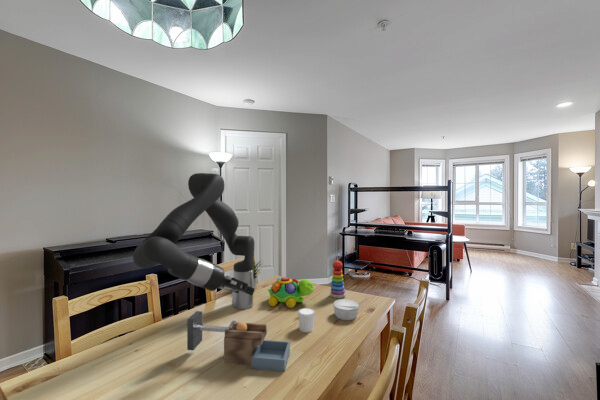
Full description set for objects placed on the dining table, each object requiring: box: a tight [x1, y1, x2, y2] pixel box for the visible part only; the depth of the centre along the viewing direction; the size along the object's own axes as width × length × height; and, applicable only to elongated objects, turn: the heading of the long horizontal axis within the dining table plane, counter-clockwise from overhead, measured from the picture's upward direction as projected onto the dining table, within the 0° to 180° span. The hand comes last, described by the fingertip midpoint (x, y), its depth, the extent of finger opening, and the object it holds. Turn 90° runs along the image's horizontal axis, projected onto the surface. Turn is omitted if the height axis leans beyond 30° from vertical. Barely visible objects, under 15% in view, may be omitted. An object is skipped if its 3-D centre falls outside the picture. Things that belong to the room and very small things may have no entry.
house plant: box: [253, 260, 264, 289], centre depth 154 cm, size 14×14×16 cm
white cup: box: [297, 307, 316, 333], centre depth 107 cm, size 7×7×7 cm
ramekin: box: [332, 298, 360, 321], centre depth 119 cm, size 11×11×5 cm
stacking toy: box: [329, 260, 346, 299], centre depth 142 cm, size 8×8×19 cm
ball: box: [236, 321, 247, 331], centre depth 88 cm, size 4×4×4 cm
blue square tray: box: [251, 339, 291, 372], centre depth 87 cm, size 10×10×4 cm
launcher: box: [223, 321, 268, 366], centre depth 88 cm, size 12×7×10 cm, turn 83°
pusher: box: [186, 310, 237, 351], centre depth 89 cm, size 14×6×10 cm, turn 83°
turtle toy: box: [267, 276, 315, 309], centre depth 134 cm, size 17×23×12 cm
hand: (245, 291), depth 91 cm, fingers open, 8 cm apart
